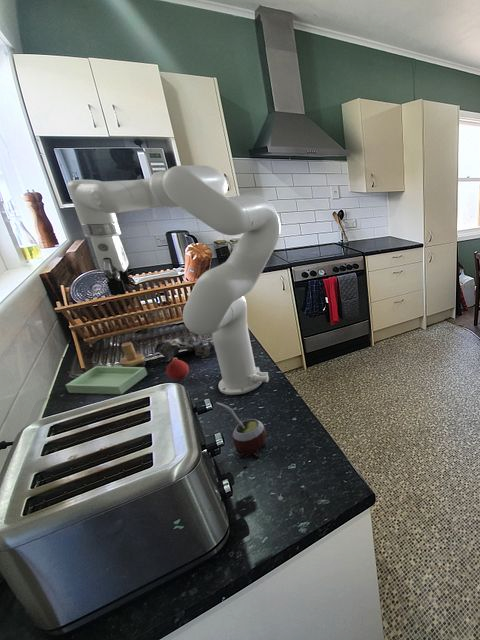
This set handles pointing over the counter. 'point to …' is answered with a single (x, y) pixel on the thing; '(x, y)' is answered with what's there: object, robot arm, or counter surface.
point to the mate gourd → (247, 435)
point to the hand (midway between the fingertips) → (121, 288)
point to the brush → (131, 356)
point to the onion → (177, 369)
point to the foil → (183, 347)
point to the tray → (107, 380)
